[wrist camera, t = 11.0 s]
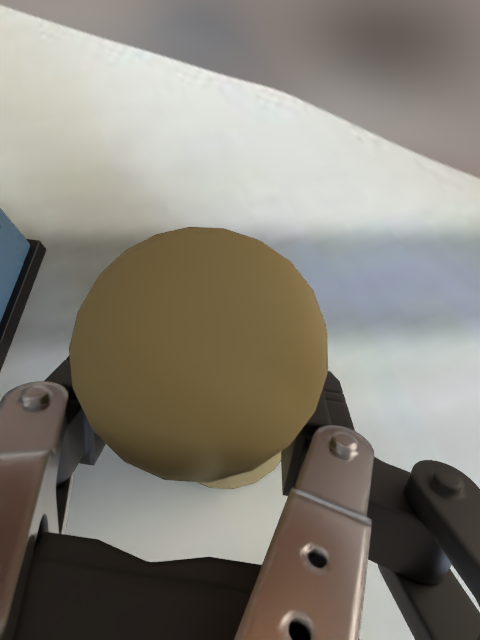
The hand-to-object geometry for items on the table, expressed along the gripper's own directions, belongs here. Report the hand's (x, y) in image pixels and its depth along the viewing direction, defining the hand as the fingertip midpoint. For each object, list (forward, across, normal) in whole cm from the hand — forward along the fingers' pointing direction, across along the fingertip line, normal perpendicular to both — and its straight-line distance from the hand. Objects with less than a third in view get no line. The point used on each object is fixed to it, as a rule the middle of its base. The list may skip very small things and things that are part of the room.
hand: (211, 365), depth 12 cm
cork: (+3, -1, +4) cm, 5 cm away
